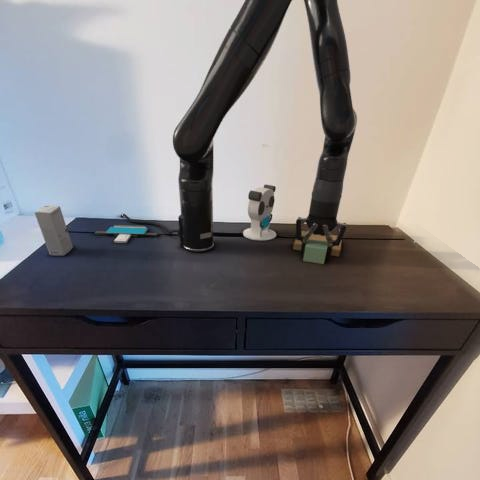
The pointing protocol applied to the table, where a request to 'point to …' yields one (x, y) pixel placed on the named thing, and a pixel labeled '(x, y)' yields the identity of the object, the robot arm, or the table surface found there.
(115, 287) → the table surface
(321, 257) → the green rectangular block
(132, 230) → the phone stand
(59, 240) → the cosmetic box
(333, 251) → the base pad
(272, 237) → the panda figurine
